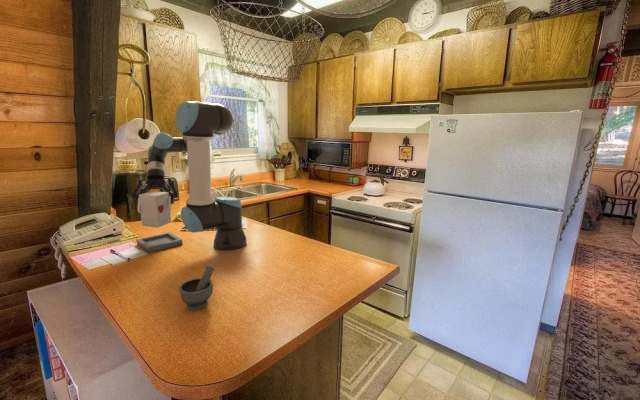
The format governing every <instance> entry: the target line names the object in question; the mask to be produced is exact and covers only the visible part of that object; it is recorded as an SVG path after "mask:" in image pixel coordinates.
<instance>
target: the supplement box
mask: <svg viewBox="0 0 640 400" xmlns="http://www.w3.org/2000/svg"><path fill="white" fill-rule="evenodd" d="M139 201H140V211H141V213H140V218H141V219H140V220H141V226H142V227H148V228H149V227H150V228H160V227H161V228H162V227H163V226H166V225H168V224H171V223H172V217H171V215H172V214H171V211H169V193H168V192H164V191H153V190H152V191H148V192H147V193H144V194H140V195H139Z"/></svg>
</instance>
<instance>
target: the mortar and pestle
mask: <svg viewBox="0 0 640 400" xmlns="http://www.w3.org/2000/svg"><path fill="white" fill-rule="evenodd" d="M215 270H216V268H215V267H214V266H213V265H209V264H207V265H205V270H204V272H203V273H202V276H201V277H199V278H196V277H195V278H192V279H189V280H186V281H184V282H182V283H181V284H180V285H179V286H178V290H179V295H180V299H181V300H182V302H183V303H184V304H186V308H187V310H189V311H191V312H195V311H197V312H198V311H201V310H203V309H205V308H206V307H207V306H208V305H209V302H208V300H209V299H210V297H212V295H213V292H214V291H213V290H214V284H213V282H212V279H211V277H212V274H213V273H214V271H215Z"/></svg>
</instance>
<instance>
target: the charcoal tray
mask: <svg viewBox="0 0 640 400" xmlns="http://www.w3.org/2000/svg"><path fill="white" fill-rule="evenodd" d="M136 244H137V246H139V247H140V248H141V249H142V250H144V252H146V253H148V254H150V253H155V252H158V251H162V250H167V249H171V248H174V247H178V246H182V245H183V239H182V238H180V237H178V236H177V235H175V234H174V233H172V232H170V231H169V232H164V233H160V234H156V235H151V236H146V237H141V238H137V239H136Z"/></svg>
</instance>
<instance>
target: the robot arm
mask: <svg viewBox="0 0 640 400" xmlns="http://www.w3.org/2000/svg"><path fill="white" fill-rule="evenodd" d="M174 117H175V119H174V120H175V121H174V122H175V126H176V129H177V131H179V132H181V134H182V136H179V137H178V136H177V137H176V136H171V135H170V134H168V133H166V132H159V133H157V134H156V135H155V137H154V138H153V143H152V145H150V146H149V148H148V151H147V155H148V156H147V168H146V169H147V170H146V171H147V172H146V173H147V174H146V180H142V179H140V180H138V184H137V186H136V187H135V189H134V190H133V192H132V193H131V195H130V197H131V199H132V200H134V201H135V203H134V204H135V205H136V206H135V207H137V212H138V213H139V214H141V211H140V201H139V195H140V194H144V193H148V192H151V190H160V189H161V191H162V192H168V193H169V211H170V212H171V211H172V205H173V204H174V203H175V198H178V197H179V194H178V191H176V188H175V187H174V185H173V183H172V179H171V178H169V179H167V180H165V172H166V171H165V170H166V166H165V162H166V158H167V155H168V153H169V154H170V153H187V168H188V187H189V189H188V190H189V191H188V192H189V198H187V199H186V201H185V206H183V207H182V208H181V210H180V216H181V217H180V218H181V221H182V223H183V225H184V227H185V229H186V230H187V231H189V232H190V233H192V234H193V233H199V232H204V231H208V230H211V229H215V228H216V233H215V235H214V239H213V246H214V248H215V249H217V250H221V251H231V250H237V249H240V248H243V247H245V246H246V245H247V237H246V235H245V232H244V228H243V217H242V216H243V214H242V209H243V208H242V201H241V199H240V198H237V197H234V196H233V197H232V196H217V197H215V198H213V197H212V184H211V180H212V179H211V174H212V173H211V148H210V147H211V143H210V142H211V140H212V139H213V138H214V137H216V136H221V135H224V134H226V133H227V132H229V131H230V129H232V128H233V123H234V118H233V114H232V112H231V111H230V109H228V107H226V106H225V105H223V104H220V103H211V102H202V101H201V102H200V101H195V100H193V101H190V100H189V101H183V102H181V103H180V104H179V105H178V106H177V109H176V111H175V116H174ZM165 185H168V186H169V189H171V190H169V189H168V188H167V187H166V186H165ZM143 187H144V188H143ZM171 191H172V192H171Z"/></svg>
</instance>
